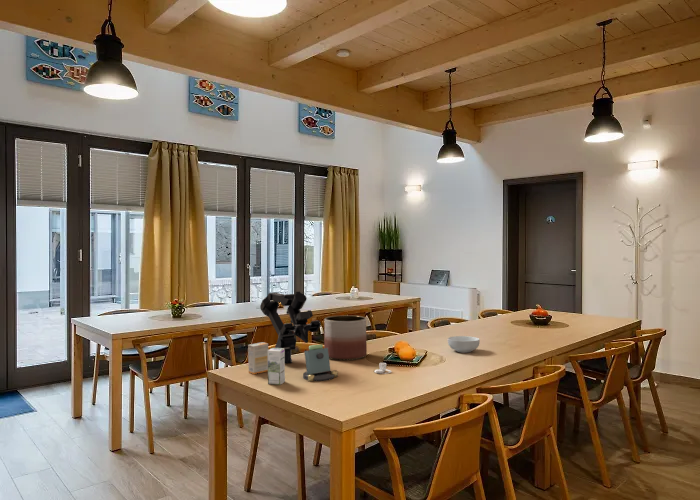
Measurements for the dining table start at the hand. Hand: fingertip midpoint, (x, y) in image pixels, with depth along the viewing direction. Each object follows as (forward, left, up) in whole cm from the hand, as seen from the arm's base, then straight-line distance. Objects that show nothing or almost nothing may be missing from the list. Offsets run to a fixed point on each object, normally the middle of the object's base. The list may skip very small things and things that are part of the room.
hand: (307, 342), depth 232 cm
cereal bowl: (-33, +86, -14) cm, 93 cm away
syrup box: (+17, -13, -14) cm, 26 cm away
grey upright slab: (+10, +5, -11) cm, 16 cm away
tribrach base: (+10, +5, -14) cm, 17 cm away
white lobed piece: (+4, +31, -14) cm, 35 cm away
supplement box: (-2, -22, -14) cm, 26 cm away
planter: (-29, +21, -14) cm, 38 cm away
